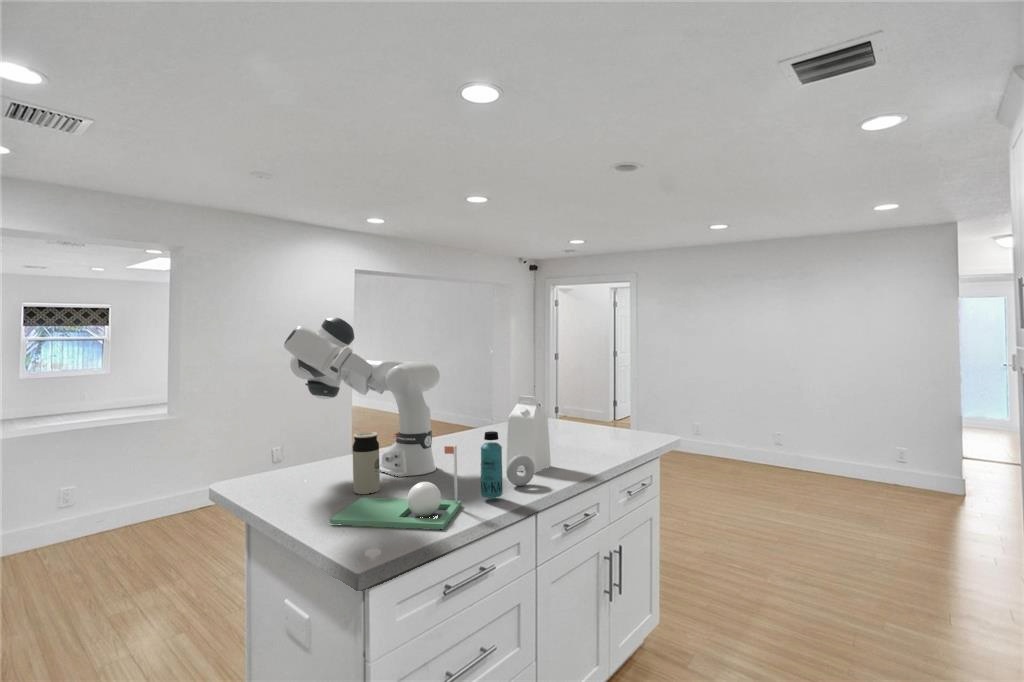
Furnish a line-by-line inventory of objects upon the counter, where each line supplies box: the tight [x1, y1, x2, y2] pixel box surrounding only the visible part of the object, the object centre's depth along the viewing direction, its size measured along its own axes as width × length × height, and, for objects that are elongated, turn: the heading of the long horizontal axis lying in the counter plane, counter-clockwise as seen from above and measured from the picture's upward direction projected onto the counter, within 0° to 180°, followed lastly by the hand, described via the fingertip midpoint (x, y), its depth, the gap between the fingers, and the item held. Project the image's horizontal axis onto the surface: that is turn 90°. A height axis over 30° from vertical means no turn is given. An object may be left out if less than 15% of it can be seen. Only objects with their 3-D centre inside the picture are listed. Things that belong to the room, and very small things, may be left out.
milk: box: [506, 395, 552, 474], centre depth 184 cm, size 12×12×26 cm
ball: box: [406, 481, 442, 517], centre depth 135 cm, size 9×9×9 cm
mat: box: [330, 445, 463, 531], centre depth 137 cm, size 30×18×18 cm, turn 81°
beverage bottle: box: [480, 430, 504, 499], centre depth 148 cm, size 6×7×20 cm
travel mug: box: [352, 431, 381, 495], centre depth 159 cm, size 8×8×18 cm
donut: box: [505, 455, 535, 487], centre depth 162 cm, size 10×4×10 cm, turn 119°
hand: (383, 390), depth 142 cm, fingers closed
